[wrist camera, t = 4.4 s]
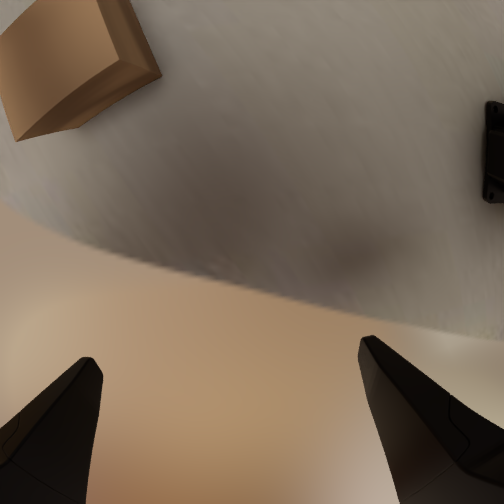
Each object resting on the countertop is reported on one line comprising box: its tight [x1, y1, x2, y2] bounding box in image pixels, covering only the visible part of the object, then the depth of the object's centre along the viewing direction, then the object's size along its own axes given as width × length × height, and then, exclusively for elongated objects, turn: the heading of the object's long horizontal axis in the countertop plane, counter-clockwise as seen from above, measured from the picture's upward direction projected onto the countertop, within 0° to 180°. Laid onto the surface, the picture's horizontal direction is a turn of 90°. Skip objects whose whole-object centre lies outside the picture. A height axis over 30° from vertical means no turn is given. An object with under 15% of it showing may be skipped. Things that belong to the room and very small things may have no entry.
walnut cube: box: [0, 0, 162, 142], centre depth 8 cm, size 5×5×5 cm
